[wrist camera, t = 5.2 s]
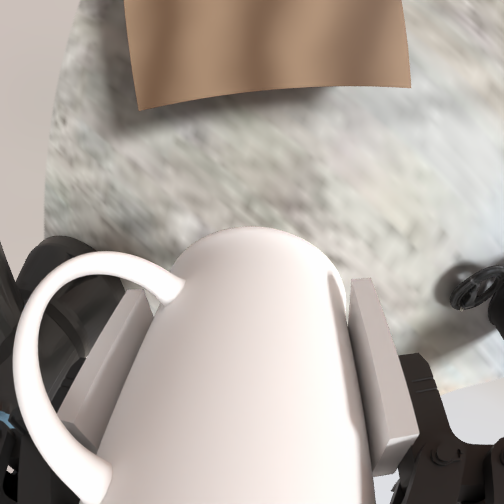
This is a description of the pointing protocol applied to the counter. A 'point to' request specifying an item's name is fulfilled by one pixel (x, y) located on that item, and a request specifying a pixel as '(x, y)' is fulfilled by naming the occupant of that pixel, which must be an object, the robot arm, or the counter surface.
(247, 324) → the mug
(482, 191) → the counter surface
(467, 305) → the milk frother
